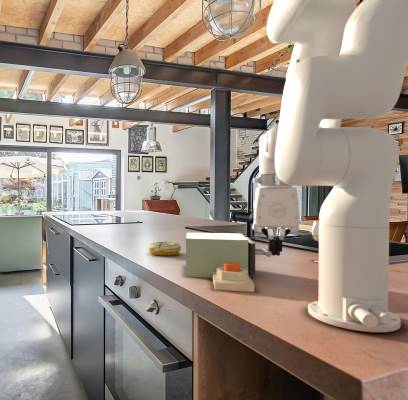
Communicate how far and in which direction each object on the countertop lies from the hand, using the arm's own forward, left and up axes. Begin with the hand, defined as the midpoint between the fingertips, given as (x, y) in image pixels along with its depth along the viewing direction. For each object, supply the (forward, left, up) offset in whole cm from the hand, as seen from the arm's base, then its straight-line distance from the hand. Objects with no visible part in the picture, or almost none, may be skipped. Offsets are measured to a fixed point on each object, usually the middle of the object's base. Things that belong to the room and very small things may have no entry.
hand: (275, 254), depth 89 cm
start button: (-12, +12, -2) cm, 17 cm away
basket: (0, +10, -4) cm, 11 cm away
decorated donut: (+25, +30, -5) cm, 39 cm away
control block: (-12, +12, -5) cm, 18 cm away
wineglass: (+20, -17, -5) cm, 27 cm away
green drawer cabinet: (0, +15, -5) cm, 16 cm away
